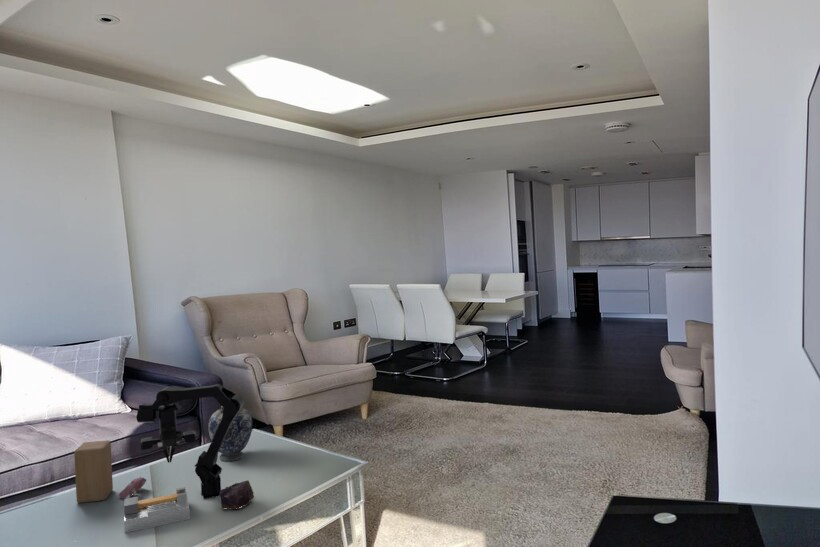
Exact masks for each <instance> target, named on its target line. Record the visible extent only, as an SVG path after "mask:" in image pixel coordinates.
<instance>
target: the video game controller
mask: <svg viewBox="0 0 820 547" xmlns="http://www.w3.org/2000/svg"><path fill="white" fill-rule="evenodd" d="M146 482H147V479H146V478H145V477H142V476H140V477H137V478H134V479H132V480H131V482H130V483H128V484H127V485H126V486H125V488H123V490H121V491H120V492H119V494H118V499H126V497H128V496H130V497H132V496H133V495H134V494H135V493H138V492H140V491H141V489H142V487H143V486H144V485H145V484H146ZM137 491H138V492H137ZM132 494H133V495H132ZM131 495H132V496H131Z"/></svg>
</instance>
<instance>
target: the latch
mask: <svg viewBox="0 0 820 547" xmlns="http://www.w3.org/2000/svg"><path fill="white" fill-rule="evenodd" d="M138 501H139V500H138V496H132V497H128V498H124V502H123V503H124V504H123V509H124V510H123V513H124V514H123V515H124V516H125V515H128V514H133V513H138Z"/></svg>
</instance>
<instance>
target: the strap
mask: <svg viewBox="0 0 820 547" xmlns="http://www.w3.org/2000/svg"><path fill="white" fill-rule="evenodd" d="M181 493H182V492H181ZM181 493H178V494H181ZM174 500H177V494H176V493H173V494H169V495H162V496H159V497H158V496H157V497H152V498H147V499H141V500H138V507H143V506H148V505H153V504H158V503H163V502H168V501H174Z"/></svg>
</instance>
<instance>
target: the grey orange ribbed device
mask: <svg viewBox="0 0 820 547" xmlns="http://www.w3.org/2000/svg"><path fill="white" fill-rule="evenodd" d="M175 492H176V493H175V494H177V500H174V501H168V502H163V503H158V504H153V505H148V506H143V507H138V513H133V514H128V515H124V517H123V518H124V519H123V527H124V528H123V529H124V534H126V532H127V533H131V532H136V531H139V530H140V531H141V530H145V529H150V528H154V527H159V526H165V525H167V524H172V523H179V522H182V521H189V520H190V519H191V516H190V514H191V513H190V504H189V498H188V493H187V492H186V487H180V488H175ZM181 492H182V493H181ZM178 493H181V494H178Z"/></svg>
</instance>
